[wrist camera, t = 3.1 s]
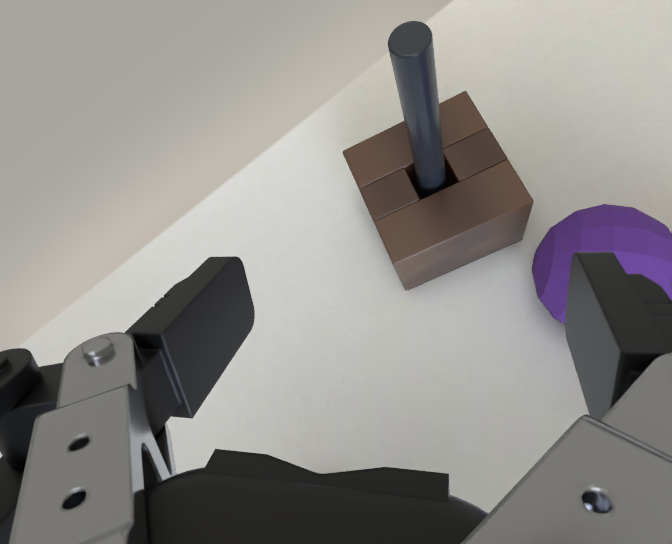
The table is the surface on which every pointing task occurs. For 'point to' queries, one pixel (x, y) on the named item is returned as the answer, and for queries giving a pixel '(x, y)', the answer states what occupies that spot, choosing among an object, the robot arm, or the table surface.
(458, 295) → the table surface
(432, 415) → the table surface
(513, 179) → the pen stand
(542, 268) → the kendama
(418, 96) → the stylus
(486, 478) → the table surface
